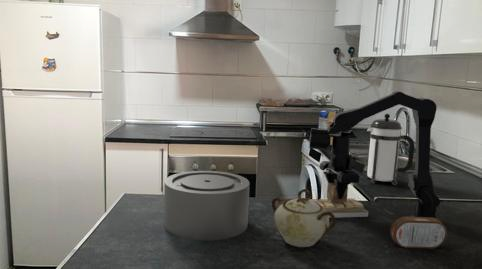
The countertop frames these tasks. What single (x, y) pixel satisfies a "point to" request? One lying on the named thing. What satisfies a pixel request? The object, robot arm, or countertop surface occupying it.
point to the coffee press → (386, 150)
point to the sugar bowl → (301, 220)
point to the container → (206, 205)
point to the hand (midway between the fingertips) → (336, 196)
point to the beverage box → (326, 120)
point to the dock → (350, 213)
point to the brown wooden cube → (335, 193)
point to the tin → (418, 232)
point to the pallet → (340, 205)
